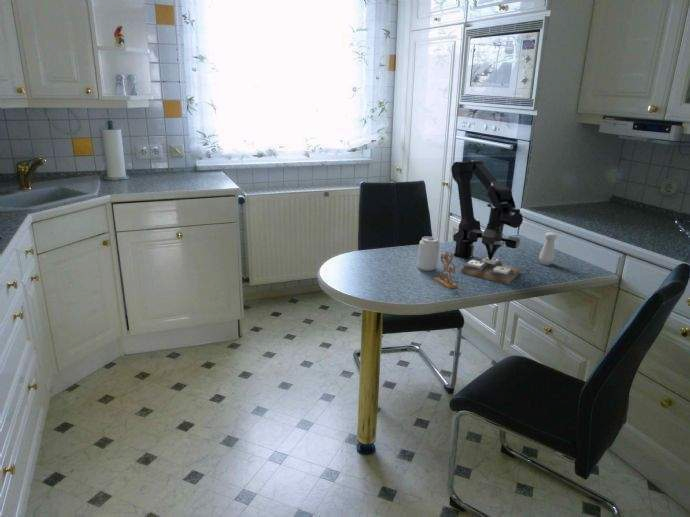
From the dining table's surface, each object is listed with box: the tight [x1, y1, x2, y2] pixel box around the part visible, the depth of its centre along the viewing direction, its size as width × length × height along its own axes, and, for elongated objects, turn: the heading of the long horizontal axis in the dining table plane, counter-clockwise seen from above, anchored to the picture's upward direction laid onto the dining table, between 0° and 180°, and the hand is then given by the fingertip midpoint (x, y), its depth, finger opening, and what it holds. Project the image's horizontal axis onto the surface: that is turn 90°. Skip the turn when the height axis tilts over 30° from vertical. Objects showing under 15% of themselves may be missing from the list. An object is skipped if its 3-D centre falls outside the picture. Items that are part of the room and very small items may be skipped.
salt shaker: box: [538, 231, 557, 266], centre depth 208 cm, size 6×6×13 cm
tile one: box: [493, 266, 511, 274], centre depth 189 cm, size 5×5×2 cm
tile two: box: [481, 256, 500, 265], centre depth 199 cm, size 5×5×2 cm
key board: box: [460, 256, 521, 285], centre depth 195 cm, size 18×15×3 cm
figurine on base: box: [433, 251, 458, 290], centre depth 180 cm, size 9×4×12 cm, turn 27°
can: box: [416, 236, 441, 272], centre depth 194 cm, size 8×8×12 cm
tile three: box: [466, 259, 485, 268], centre depth 194 cm, size 5×5×2 cm
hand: (490, 259), depth 199 cm, fingers closed, pressing on tile two
